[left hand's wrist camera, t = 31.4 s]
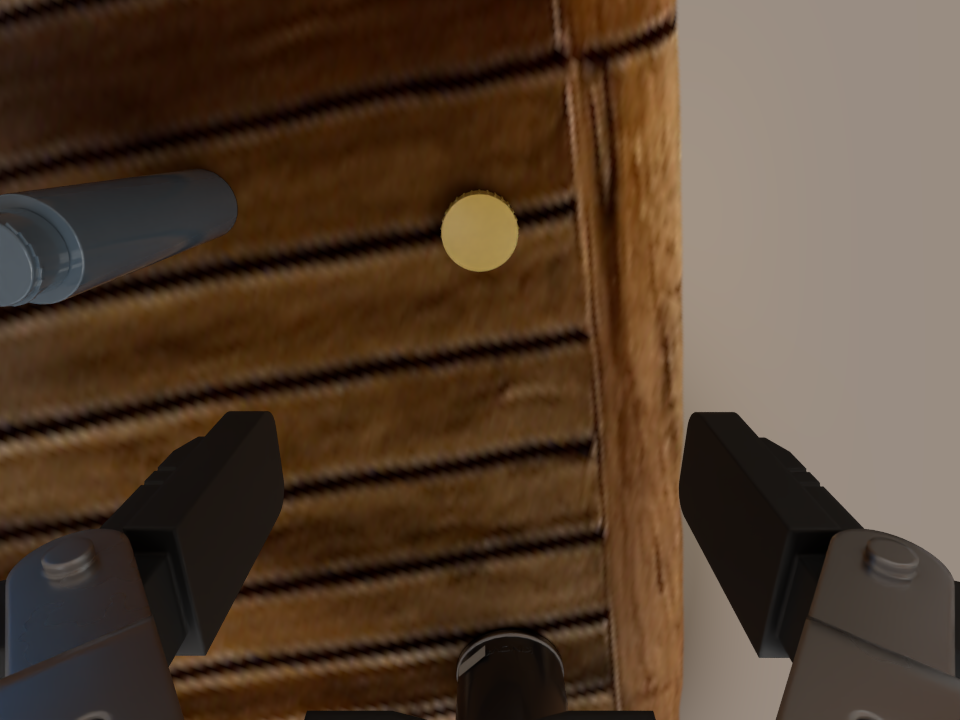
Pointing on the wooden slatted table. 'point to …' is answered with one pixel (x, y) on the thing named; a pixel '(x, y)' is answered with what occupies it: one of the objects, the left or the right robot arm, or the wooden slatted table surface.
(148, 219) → the grey bottle
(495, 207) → the lid
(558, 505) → the wooden slatted table surface
